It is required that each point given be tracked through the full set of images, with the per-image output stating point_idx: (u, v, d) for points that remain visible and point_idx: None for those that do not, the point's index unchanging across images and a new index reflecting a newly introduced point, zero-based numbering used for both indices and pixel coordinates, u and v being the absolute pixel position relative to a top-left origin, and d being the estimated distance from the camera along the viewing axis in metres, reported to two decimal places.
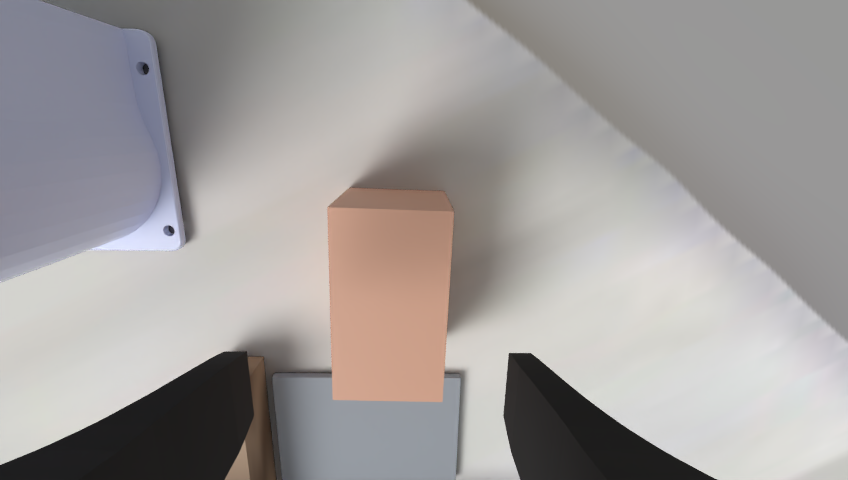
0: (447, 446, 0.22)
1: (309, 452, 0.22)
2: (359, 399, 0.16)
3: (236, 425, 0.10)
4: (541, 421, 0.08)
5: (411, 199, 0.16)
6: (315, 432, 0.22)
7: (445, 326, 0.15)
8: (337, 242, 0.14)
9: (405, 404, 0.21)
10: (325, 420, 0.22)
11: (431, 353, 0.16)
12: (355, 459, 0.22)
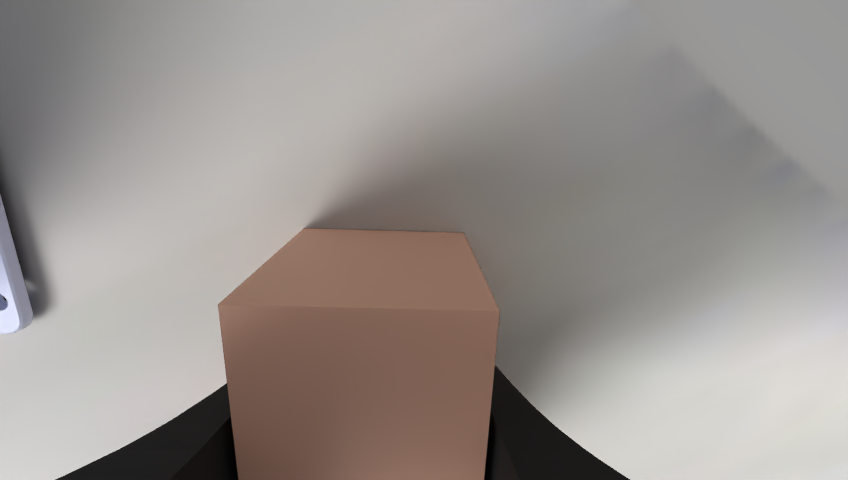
0: None
1: None
2: None
3: None
4: None
5: (407, 263, 0.09)
6: None
7: None
8: (245, 375, 0.07)
9: None
10: None
11: None
12: None
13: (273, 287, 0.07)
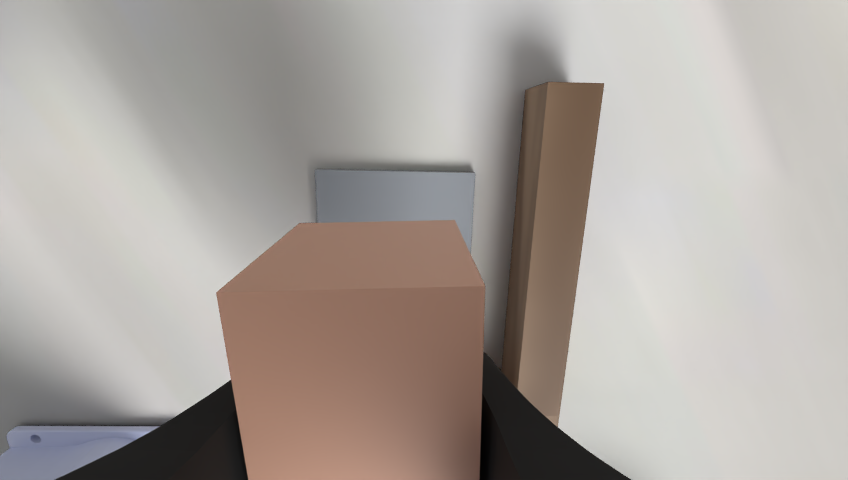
0: (416, 184, 0.17)
1: None
2: None
3: None
4: (482, 421, 0.08)
5: (398, 249, 0.09)
6: None
7: None
8: (246, 360, 0.07)
9: None
10: None
11: None
12: None
13: (269, 275, 0.07)
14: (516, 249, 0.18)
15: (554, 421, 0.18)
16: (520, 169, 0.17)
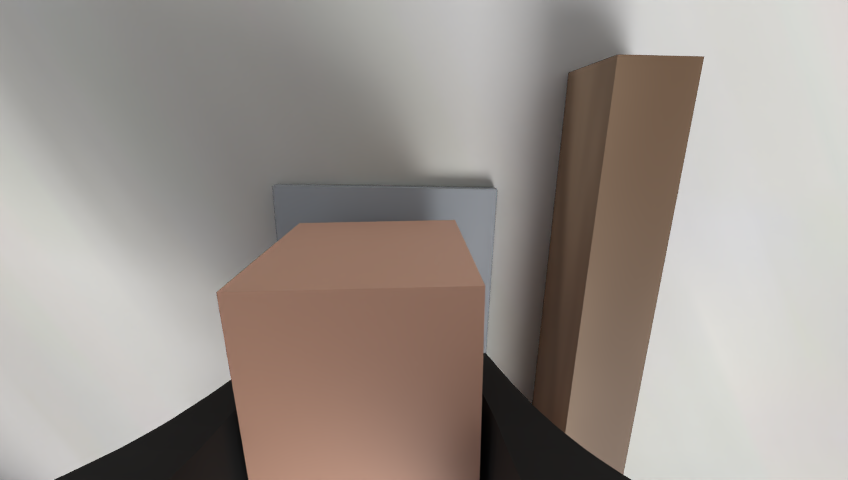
0: (415, 205, 0.12)
1: None
2: None
3: None
4: (482, 421, 0.08)
5: (398, 249, 0.09)
6: None
7: None
8: (246, 360, 0.07)
9: None
10: None
11: None
12: None
13: (269, 275, 0.07)
14: (553, 294, 0.13)
15: None
16: (560, 183, 0.12)
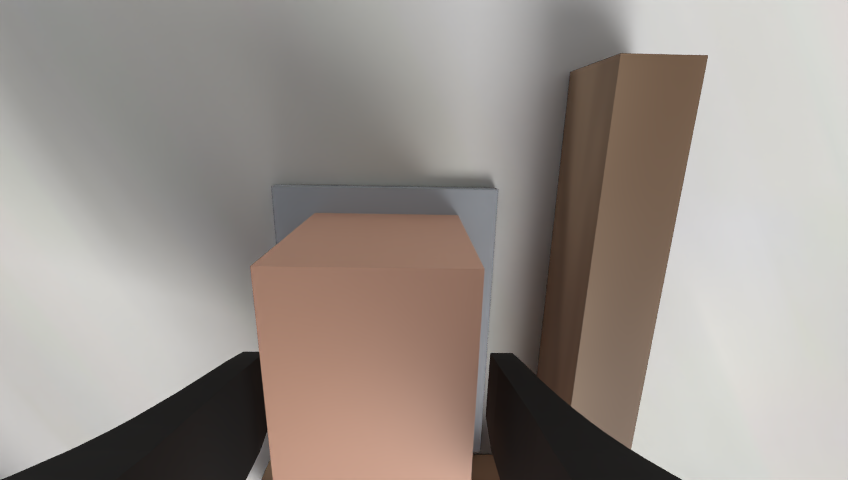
0: (416, 206, 0.12)
1: None
2: None
3: (256, 425, 0.10)
4: (517, 421, 0.08)
5: (407, 237, 0.10)
6: None
7: (469, 459, 0.09)
8: (272, 327, 0.08)
9: None
10: None
11: None
12: None
13: (294, 254, 0.08)
14: (555, 295, 0.13)
15: None
16: (562, 184, 0.12)
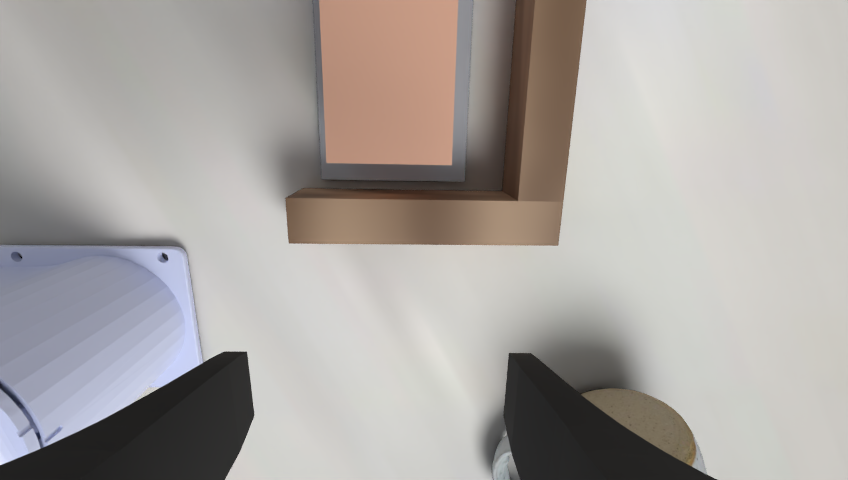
0: None
1: None
2: (356, 163, 0.14)
3: (236, 425, 0.10)
4: (541, 421, 0.08)
5: None
6: None
7: (453, 62, 0.13)
8: None
9: None
10: None
11: (438, 98, 0.14)
12: None
13: None
14: (518, 31, 0.17)
15: (558, 208, 0.17)
16: None
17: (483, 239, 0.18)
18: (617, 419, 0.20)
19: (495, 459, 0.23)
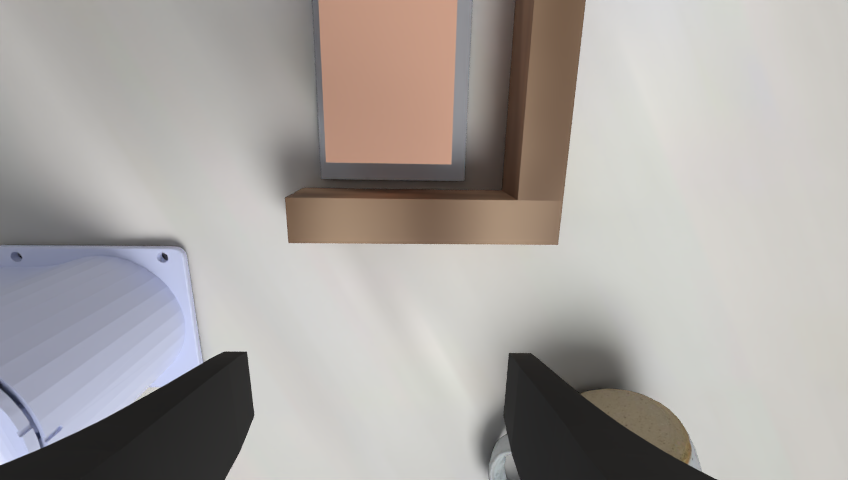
0: None
1: None
2: (355, 162, 0.14)
3: (236, 425, 0.10)
4: (541, 421, 0.08)
5: None
6: None
7: (453, 61, 0.13)
8: None
9: None
10: None
11: (437, 97, 0.14)
12: None
13: None
14: (517, 31, 0.17)
15: (558, 207, 0.17)
16: None
17: (483, 238, 0.18)
18: None
19: (492, 459, 0.23)
